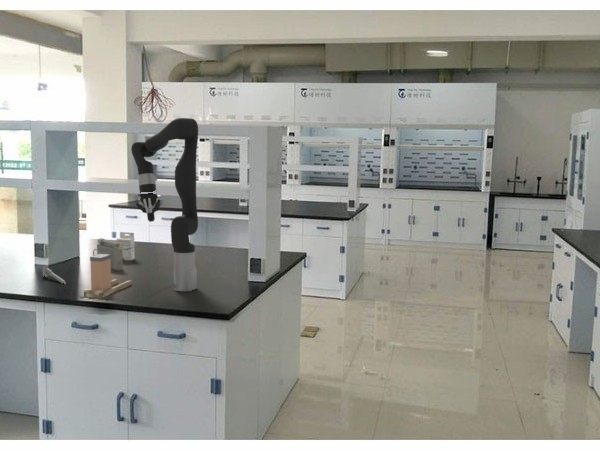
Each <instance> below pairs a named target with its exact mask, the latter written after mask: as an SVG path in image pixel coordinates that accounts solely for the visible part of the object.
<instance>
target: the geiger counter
mask: <svg viewBox="0 0 600 450" xmlns="http://www.w3.org/2000/svg"><path fill="white" fill-rule="evenodd" d="M97 243H98V244H97ZM97 243H96V248H95V249H93V251H92V254H93V255H92V256H95V255H98V254H109V255H111V270H115V271H123V270H124V263H123V261H124V260H123V250H122V249H121V248H118V247H119V246H120V244H119V243H117V241H116V242H115V241H111V240H107V239H105V238H101V237H100V238H98V240H97ZM95 251H96V253H97V254H95Z"/></svg>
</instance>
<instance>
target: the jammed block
mask: <svg viewBox="0 0 600 450" xmlns="http://www.w3.org/2000/svg"><path fill="white" fill-rule="evenodd" d="M94 255H95V256H94ZM94 255H92V256H90V257H89V261H90V287H91V288H90V289H92V290H103V291H105V290H108V289H110V288H112V286H111V281H112V269H111V255H109V254H98V255H97V254H94Z"/></svg>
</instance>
